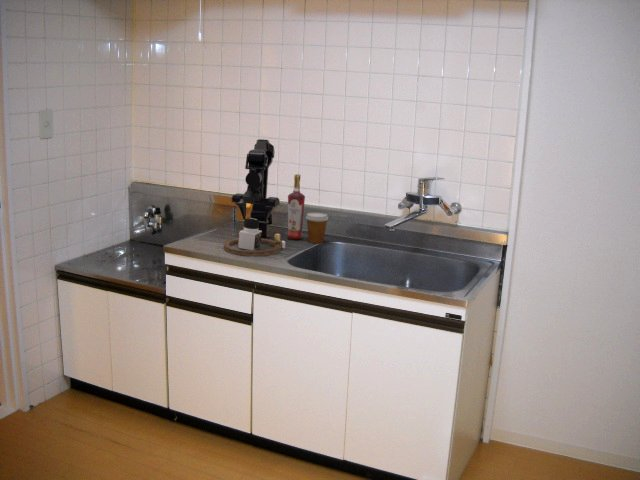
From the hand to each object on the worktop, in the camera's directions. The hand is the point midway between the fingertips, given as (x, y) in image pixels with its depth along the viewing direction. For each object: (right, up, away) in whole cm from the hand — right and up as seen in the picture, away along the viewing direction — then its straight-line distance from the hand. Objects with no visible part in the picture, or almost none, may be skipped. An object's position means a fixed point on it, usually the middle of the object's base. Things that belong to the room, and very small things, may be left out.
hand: (254, 220), depth 293 cm
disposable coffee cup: (+24, -9, +19) cm, 32 cm away
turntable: (-1, -11, +3) cm, 12 cm away
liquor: (+15, -7, +23) cm, 28 cm away
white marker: (+11, -11, +7) cm, 17 cm away
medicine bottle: (-3, -11, +3) cm, 12 cm away
